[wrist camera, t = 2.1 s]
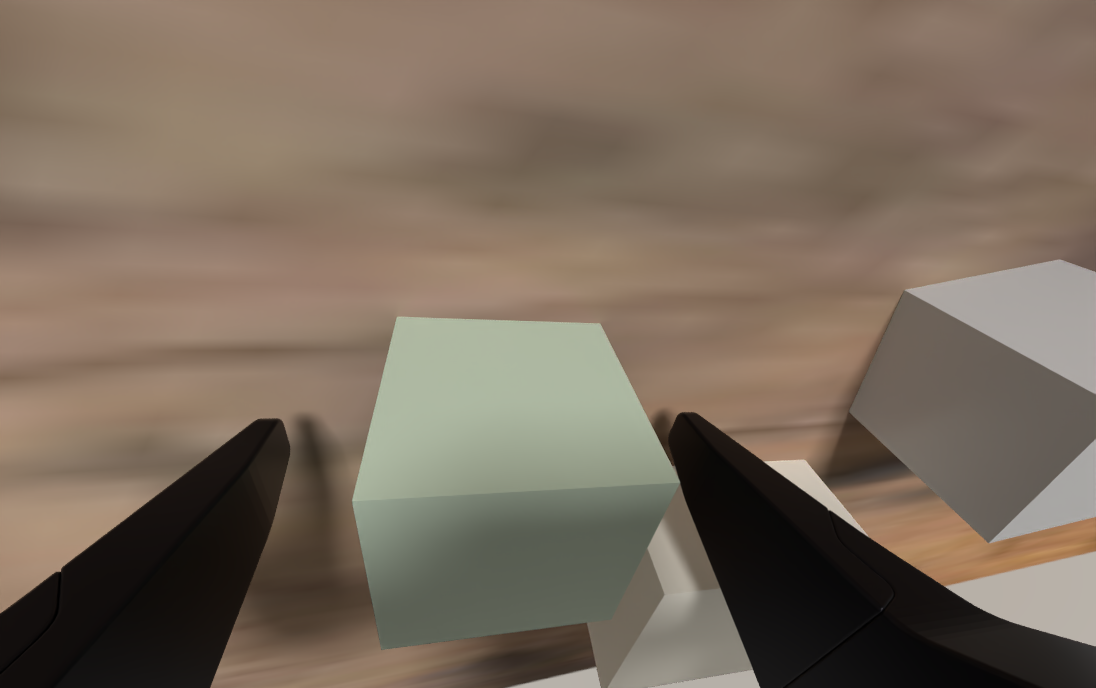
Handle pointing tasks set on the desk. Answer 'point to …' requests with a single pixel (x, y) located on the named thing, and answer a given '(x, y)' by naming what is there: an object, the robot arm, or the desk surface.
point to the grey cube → (993, 395)
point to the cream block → (681, 604)
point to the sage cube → (504, 480)
